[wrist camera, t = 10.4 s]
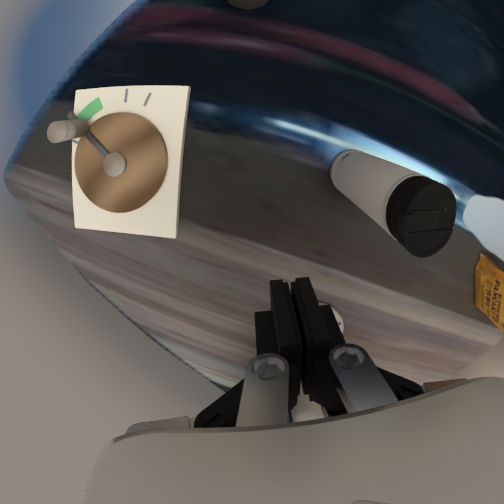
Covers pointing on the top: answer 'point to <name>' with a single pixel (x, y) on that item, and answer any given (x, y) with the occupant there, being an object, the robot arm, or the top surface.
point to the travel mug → (397, 200)
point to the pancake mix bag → (490, 290)
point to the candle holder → (247, 3)
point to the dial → (115, 158)
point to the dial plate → (173, 132)
